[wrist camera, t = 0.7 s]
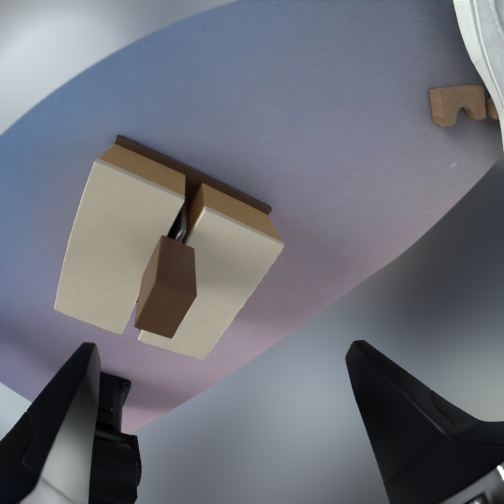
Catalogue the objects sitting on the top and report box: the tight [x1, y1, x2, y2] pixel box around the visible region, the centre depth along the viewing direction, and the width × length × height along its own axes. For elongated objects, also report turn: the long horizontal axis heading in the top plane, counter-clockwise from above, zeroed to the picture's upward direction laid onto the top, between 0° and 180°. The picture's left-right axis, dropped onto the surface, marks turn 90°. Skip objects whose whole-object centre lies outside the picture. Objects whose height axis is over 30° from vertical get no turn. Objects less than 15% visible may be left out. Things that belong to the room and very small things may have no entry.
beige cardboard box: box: [54, 135, 284, 360], centre depth 20 cm, size 12×12×5 cm
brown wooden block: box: [134, 196, 197, 339], centre depth 17 cm, size 4×2×9 cm, turn 149°
